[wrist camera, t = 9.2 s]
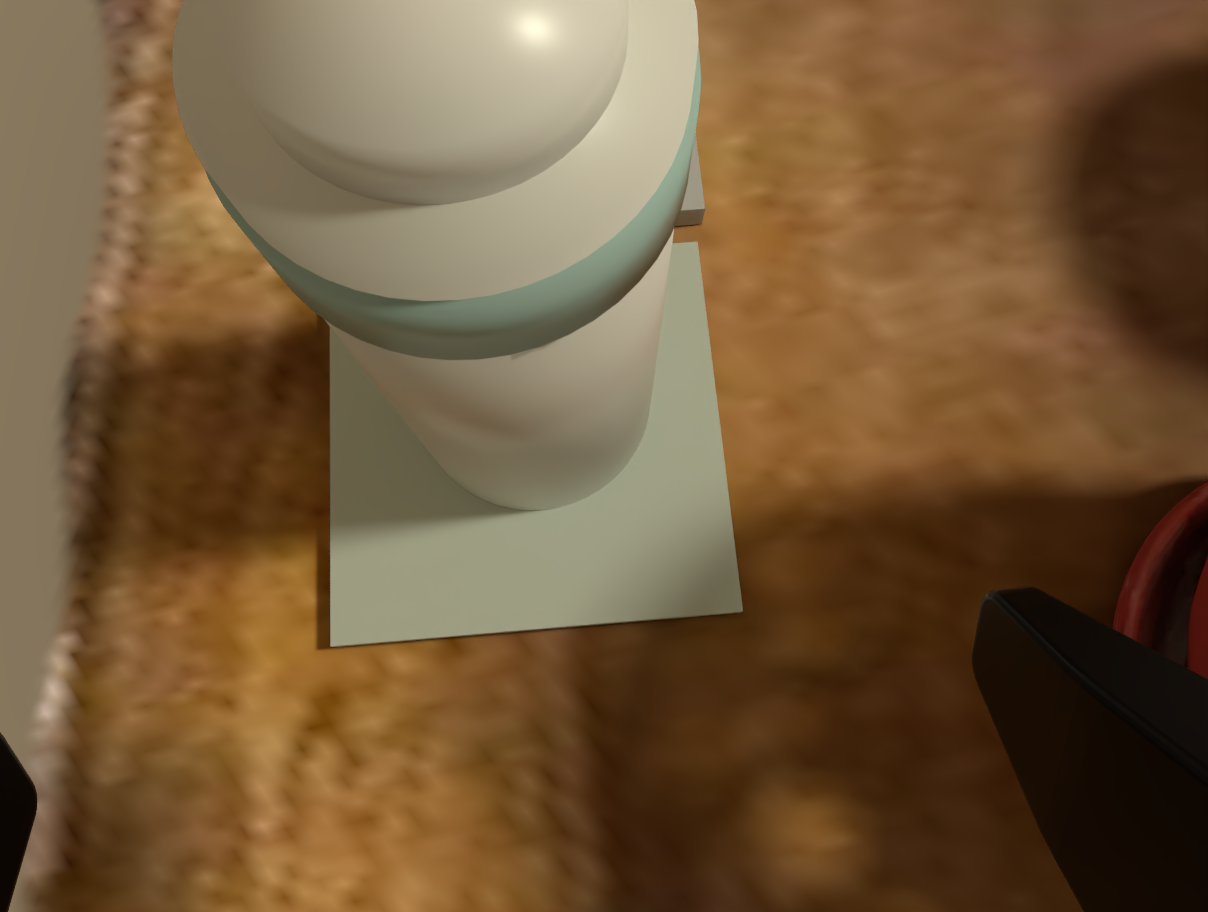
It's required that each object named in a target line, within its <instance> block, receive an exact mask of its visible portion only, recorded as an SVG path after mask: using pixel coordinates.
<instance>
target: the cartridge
mask: <svg viewBox="0 0 1208 912" xmlns="http://www.w3.org/2000/svg"><path fill="white" fill-rule="evenodd" d="M172 66H173V86H174V91H175V96H176V101H177V107H178V112H179V115H180V118H181V120H182V123H183V126H184V129H185V131H186V134H187V137H188V140H189V142H190V144H191V145H192V147H193V149H194V151H195V153H196V154H197V156H198V158H199V160H200V162H201V163H202V165H203V167H204V168H205V171H206V173H207V176H208V179H209V181H210V183H211V185H212V186H213V188H214V190H215V192H216V194H217V195H218V197H219V199H220V201H221V203H222V204H223V206H224V207H225V209H226V210H227V211H228V213H229V214H230V215H231V217H232V218H233V219H234V220H235V222H236V223H237V224H238V226H239V227H240V228H241V229H242V231H243V232H244V233H245V234H246V236H247V237H248V238H249V239H250V240H251V242H252V243H253V244H254V245H255V247H256V248H257V249H258V250H259V251H260V253H261V254H262V255H263V256H264V258H265V259H266V260H267V261H268V263H269V264H270V265H271V266H272V267H273V269H274V270H275V271H276V272H277V274H278V275H279V276H280V277H281V278H282V280H283V281H284V282H285V283H286V285H287V286H288V287H289V288H290V289H291V291H292V292H293V293H294V294H296V295H297V296H298V297H299V298H300V299H301V300H302V301H303V302H304V303H305V304H306V305H307V306H308V307H309V308H310V309H311V310H312V311H314V312H315V313H317V314H318V315H319V316H321V317H322V318H323V319H324V320H325V321H326V323H327V324H328V325H329V326H330V328H331V329H332V330H333V331H334V333H335V334H336V335H337V336H338V338H339V339H340V340H341V342H342V343H343V344H344V345H345V347H346V348H347V349H348V350H349V352H350V353H351V354H352V355H353V357H354V358H355V359H356V360H357V362H358V363H359V364H360V365H361V367H362V368H363V369H364V371H365V372H366V373H367V374H368V376H369V377H370V378H371V379H372V381H373V382H374V383H375V384H376V386H377V387H378V388H379V389H380V391H381V392H382V393H383V394H384V396H385V397H386V398H387V400H388V401H389V402H390V403H391V405H392V406H393V407H394V408H395V410H396V411H397V412H398V413H399V415H400V416H401V417H402V418H403V420H404V421H405V422H406V423H407V425H408V426H409V427H410V429H411V430H412V431H413V432H414V434H415V435H416V436H417V437H418V439H419V440H420V441H421V442H422V444H423V445H424V446H425V447H426V449H427V450H428V451H429V452H430V454H431V455H432V456H433V458H434V459H435V460H436V461H437V463H438V464H439V465H440V466H441V468H442V469H443V470H444V471H445V473H446V474H447V475H448V476H449V477H450V478H451V479H452V480H453V481H455V482H456V483H457V484H458V485H459V486H461V487H462V488H463V489H465V490H466V491H467V492H469V493H471V494H473V495H474V496H476V497H478V498H480V499H482V500H484V501H487V502H489V503H492V504H495V505H498V506H502V507H506V508H510V509H518V510H546V509H553V508H559V507H562V506H566V505H569V504H573V503H575V502H577V501H580V500H582V499H584V498H587V497H589V496H590V495H592V494H594V493H595V492H597V491H599V490H600V489H602V488H603V487H604V486H606V485H607V484H608V483H609V482H611V481H612V480H613V479H614V478H615V477H616V476H617V475H618V474H619V473H620V472H621V471H622V470H623V469H624V468H625V466H626V465H627V464H628V462H629V461H630V460H631V458H632V457H633V455H634V453H635V452H636V450H637V448H638V446H639V445H640V442H641V440H642V437H643V435H644V432H645V429H646V425H647V421H648V417H649V411H650V403H651V396H652V389H653V381H654V374H655V367H656V359H657V352H658V344H659V337H660V330H661V322H662V315H663V307H664V300H665V293H666V285H667V278H668V270H669V263H670V256H671V248H672V241H673V234H674V227H675V224H676V222H677V219H678V217H679V215H680V212H681V209H682V205H683V201H684V197H685V193H686V189H687V184H688V178H689V171H690V164H691V158H692V151H693V144H694V138H695V131H696V124H697V118H698V111H699V100H700V90H701V71H700V54H699V49H698V25H697V11H696V6H695V1H694V0H183V1H182V4H181V8H180V11H179V15H178V19H177V22H176V27H175V35H174V43H173V51H172Z"/></svg>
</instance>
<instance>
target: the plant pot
mask: <svg viewBox="0 0 1208 912" xmlns="http://www.w3.org/2000/svg"><path fill="white" fill-rule="evenodd" d="M1113 629H1115V630H1117V631H1119V632H1120V633H1122V634H1124V635H1126V636H1128V637H1130V638H1132V639H1134V640H1135V641H1137V642H1139V643H1141V644H1143V645H1145V646H1147V647H1149V648H1150V649H1152V650H1154V651H1156V652H1158V653H1160V654H1162V655H1164V656H1165V657H1167V658H1169V659H1171V660H1173V661H1175V662H1177V663H1179V664H1180V665H1182V666H1184V667H1186V668H1188V669H1190V670H1192V671H1194V672H1195V673H1197V674H1199V675H1201V676H1203V677H1205V678H1207V679H1208V482H1206V483H1205V484H1203V485H1202V486H1200V487H1198V488H1197V489H1195V490H1194V491H1192V492H1191V493H1190V494H1188V495H1187V496H1186V497H1184V498H1183V499H1182V500H1181V501H1180V502H1178V503H1177V504H1176V505H1175V506H1174V507H1173V508H1171V510H1170V511H1169V512H1168V513H1167V514H1166V515H1165V516H1164V517H1163V518H1162V519H1161V520H1160V521H1159V522H1158V524H1157V525H1156V526H1155V527H1154V529H1153V530H1152V531H1151V532H1150V534H1149V535H1148V536H1147V538H1146V540H1145V541H1144V543H1143V545H1142V546H1141V548H1140V549H1139V551H1138V553H1137V554H1136V556H1135V559H1134V561H1133V563H1132V565H1131V567H1130V569H1129V571H1128V573H1127V575H1126V577H1125V579H1124V583H1123V587H1122V590H1121V593H1120V595H1119V598H1118V602H1117V606H1116V611H1115V615H1114V620H1113Z"/></svg>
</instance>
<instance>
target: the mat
mask: <svg viewBox="0 0 1208 912" xmlns="http://www.w3.org/2000/svg"><path fill="white" fill-rule="evenodd" d="M741 612H743V607H742V599H741V591H740V582H739V574H738V566H737V558H736V550H735V542H734V534H733V526H732V518H731V510H730V502H729V493H728V485H727V477H726V469H725V461H724V453H723V445H722V437H721V429H720V421H719V413H718V405H717V396H716V388H715V380H714V372H713V364H712V356H711V348H710V340H709V332H708V324H707V316H706V308H705V299H704V291H703V283H702V275H701V267H700V259H699V251H698V243H697V242H686V243H673V244H672V248H671V256H670V263H669V270H668V278H667V285H666V293H665V300H664V307H663V315H662V322H661V330H660V337H659V344H658V352H657V359H656V367H655V374H654V381H653V389H652V396H651V403H650V411H649V417H648V421H647V425H646V429H645V432H644V435H643V437H642V440H641V442H640V445H639V446H638V448H637V450H636V452H635V453H634V455H633V457H632V458H631V460H630V461H629V462H628V464H627V465H626V466H625V468H624V469H623V470H622V471H621V472H620V473H619V474H618V475H617V476H616V477H615V478H614V479H613V480H612V481H611V482H609V483H608V484H607V485H606V486H604V487H603V488H602V489H600V490H599V491H597V492H595V493H594V494H592V495H590V496H589V497H587V498H584V499H582V500H580V501H577V502H575V503H573V504H569V505H566V506H562V507H559V508H553V509H546V510H518V509H510V508H506V507H502V506H498V505H495V504H492V503H489V502H487V501H484V500H482V499H480V498H478V497H476V496H474V495H473V494H471V493H469V492H467V491H466V490H465V489H463V488H462V487H461V486H459V485H458V484H457V483H456V482H455V481H453V480H452V479H451V478H450V477H449V476H448V475H447V474H446V473H445V471H444V470H443V469H442V468H441V466H440V465H439V464H438V463H437V461H436V460H435V459H434V458H433V456H432V455H431V454H430V452H429V451H428V450H427V449H426V447H425V446H424V445H423V444H422V442H421V441H420V440H419V439H418V437H417V436H416V435H415V434H414V432H413V431H412V430H411V429H410V427H409V426H408V425H407V423H406V422H405V421H404V420H403V418H402V417H401V416H400V415H399V413H398V412H397V411H396V410H395V408H394V407H393V406H392V405H391V403H390V402H389V401H388V400H387V398H386V397H385V396H384V394H383V393H382V392H381V391H380V389H379V388H378V387H377V386H376V384H375V383H374V382H373V381H372V379H371V378H370V377H369V376H368V374H367V373H366V372H365V371H364V369H363V368H362V367H361V365H360V364H359V363H358V362H357V360H356V359H355V358H354V357H353V355H352V354H351V353H350V352H349V350H348V349H347V348H346V347H345V345H344V344H343V343H342V342H341V340H340V339H339V338H338V336H337V335H336V334H335V333H334V331H333V330H332V329H331V328H330V646H331V647H344V646H356V645H367V644H379V643H391V642H403V641H414V640H426V639H438V638H450V637H461V636H473V635H485V634H497V633H508V632H520V631H532V630H544V629H555V628H567V627H579V626H591V625H603V624H614V623H626V622H638V621H650V620H661V619H673V618H685V617H697V616H708V615H720V614H732V613H741Z"/></svg>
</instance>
